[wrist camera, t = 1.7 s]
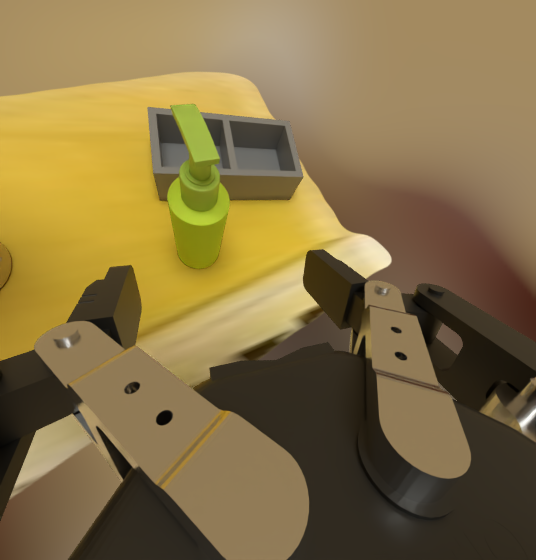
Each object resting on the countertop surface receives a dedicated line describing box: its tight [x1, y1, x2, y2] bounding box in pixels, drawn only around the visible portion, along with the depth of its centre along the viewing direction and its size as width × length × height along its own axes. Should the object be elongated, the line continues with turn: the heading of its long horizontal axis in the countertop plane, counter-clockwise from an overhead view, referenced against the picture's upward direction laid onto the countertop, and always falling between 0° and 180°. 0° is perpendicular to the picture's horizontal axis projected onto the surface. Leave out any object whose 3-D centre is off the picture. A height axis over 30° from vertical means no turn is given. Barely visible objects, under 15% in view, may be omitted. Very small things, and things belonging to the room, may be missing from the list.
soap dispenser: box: [167, 104, 230, 269], centre depth 27 cm, size 6×7×20 cm
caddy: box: [148, 107, 303, 200], centre depth 38 cm, size 21×10×6 cm, turn 101°
